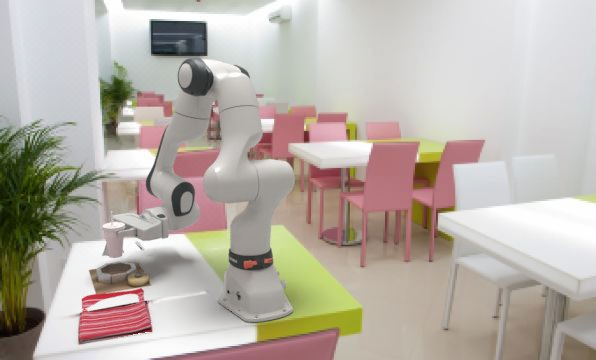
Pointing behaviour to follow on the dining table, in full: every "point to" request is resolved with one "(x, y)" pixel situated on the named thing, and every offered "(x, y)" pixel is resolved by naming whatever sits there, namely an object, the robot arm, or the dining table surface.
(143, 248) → the fork
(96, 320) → the dish towel
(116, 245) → the smoothie
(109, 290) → the carrier board
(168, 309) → the dining table surface
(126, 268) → the socket ring
